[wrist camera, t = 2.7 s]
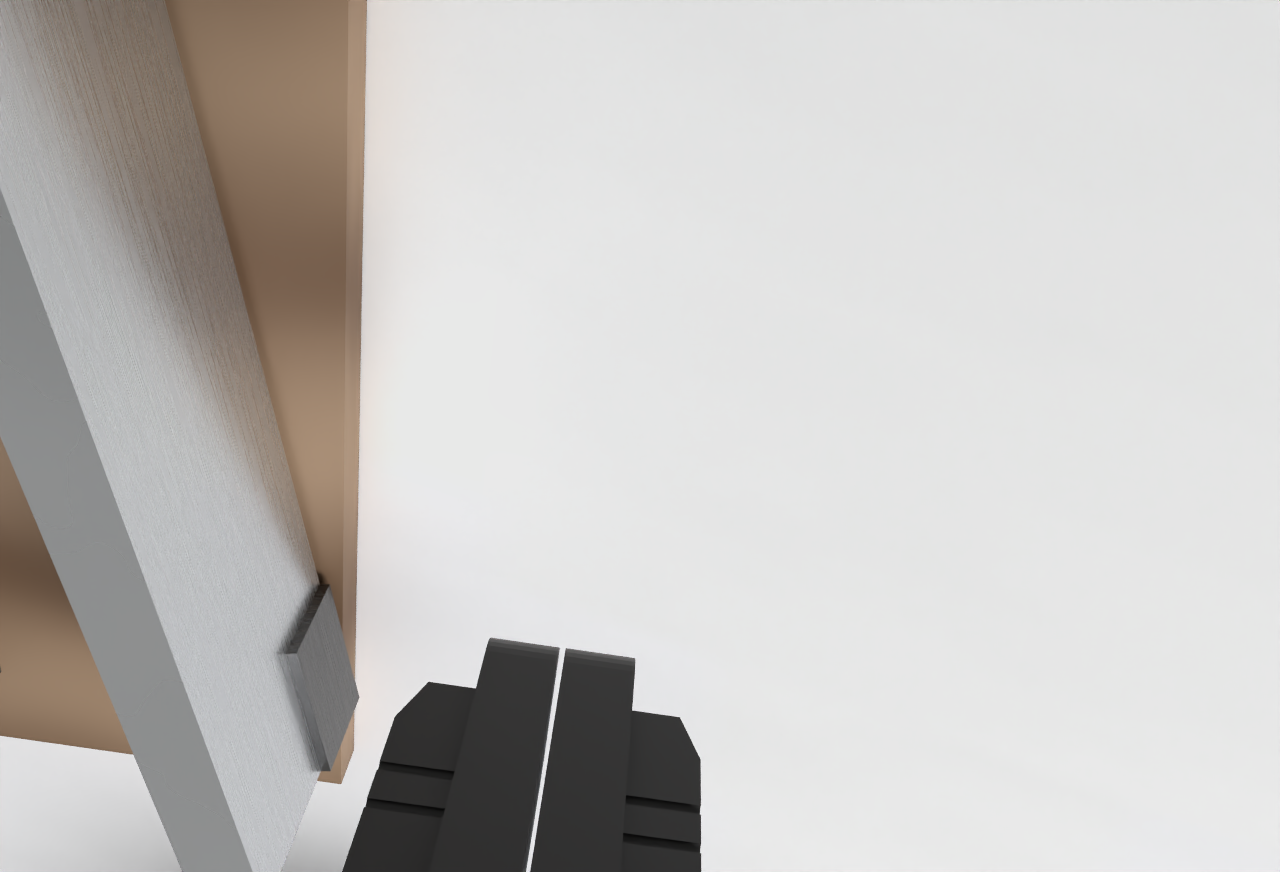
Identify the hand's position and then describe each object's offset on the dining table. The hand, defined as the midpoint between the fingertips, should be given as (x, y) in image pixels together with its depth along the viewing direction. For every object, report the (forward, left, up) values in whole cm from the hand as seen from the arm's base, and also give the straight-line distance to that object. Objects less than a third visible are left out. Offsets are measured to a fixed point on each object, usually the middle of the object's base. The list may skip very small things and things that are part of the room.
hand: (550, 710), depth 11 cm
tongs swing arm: (-1, -7, -8) cm, 11 cm away
